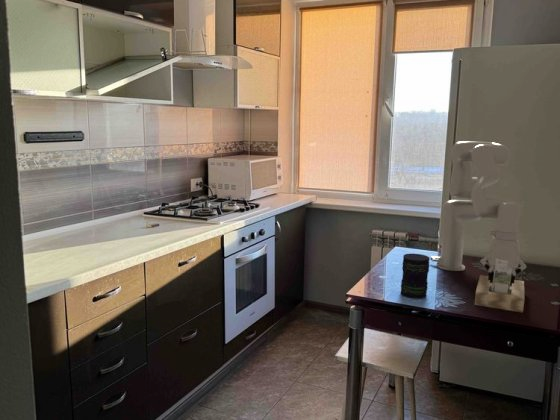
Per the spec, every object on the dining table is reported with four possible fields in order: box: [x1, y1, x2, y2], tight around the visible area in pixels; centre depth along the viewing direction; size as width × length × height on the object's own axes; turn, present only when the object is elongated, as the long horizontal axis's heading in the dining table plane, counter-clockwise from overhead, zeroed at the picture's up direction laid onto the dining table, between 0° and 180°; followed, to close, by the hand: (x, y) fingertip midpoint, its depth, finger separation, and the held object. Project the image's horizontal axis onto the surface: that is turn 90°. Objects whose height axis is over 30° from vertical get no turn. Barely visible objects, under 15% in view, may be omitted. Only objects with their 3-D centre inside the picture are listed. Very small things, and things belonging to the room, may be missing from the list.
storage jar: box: [400, 253, 431, 300], centre depth 192 cm, size 10×10×15 cm
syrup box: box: [491, 258, 512, 294], centre depth 185 cm, size 6×6×14 cm
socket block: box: [474, 274, 525, 314], centre depth 191 cm, size 16×24×5 cm, turn 155°
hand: (500, 283), depth 186 cm, fingers closed on syrup box, 6 cm apart
